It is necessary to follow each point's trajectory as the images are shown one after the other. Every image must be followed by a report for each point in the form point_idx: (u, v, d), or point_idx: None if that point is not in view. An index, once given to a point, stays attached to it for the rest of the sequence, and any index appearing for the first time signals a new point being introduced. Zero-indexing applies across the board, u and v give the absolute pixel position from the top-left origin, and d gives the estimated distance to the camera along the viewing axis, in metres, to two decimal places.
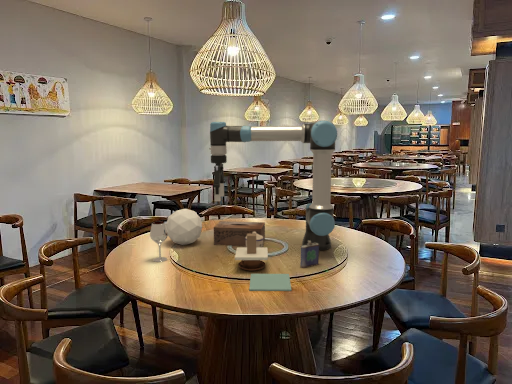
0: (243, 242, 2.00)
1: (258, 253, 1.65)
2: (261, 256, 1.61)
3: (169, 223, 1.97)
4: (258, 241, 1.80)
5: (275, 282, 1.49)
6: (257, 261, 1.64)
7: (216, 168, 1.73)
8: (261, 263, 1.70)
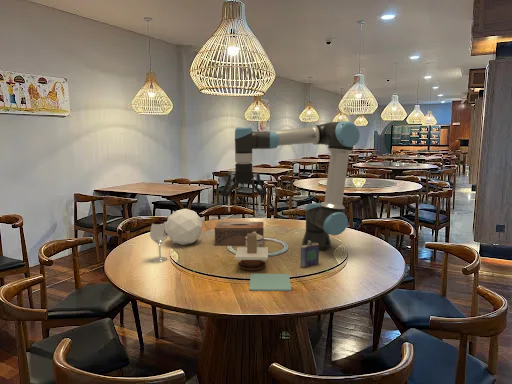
0: (245, 242, 2.00)
1: (258, 253, 1.65)
2: (261, 256, 1.61)
3: (169, 223, 1.97)
4: (258, 241, 1.80)
5: (275, 282, 1.49)
6: (257, 261, 1.64)
7: (228, 176, 1.65)
8: (261, 263, 1.71)
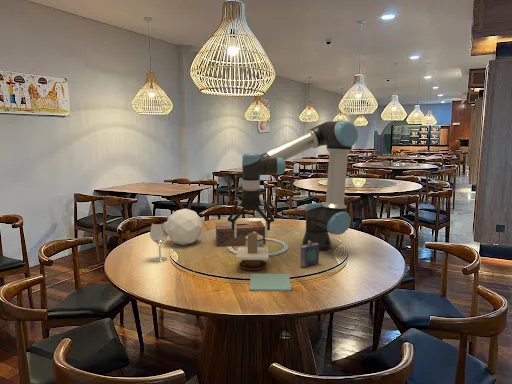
0: None
1: (259, 253, 1.65)
2: (261, 256, 1.61)
3: (169, 223, 1.97)
4: (258, 241, 1.80)
5: (275, 282, 1.49)
6: (258, 261, 1.65)
7: (235, 202, 1.63)
8: (262, 263, 1.71)
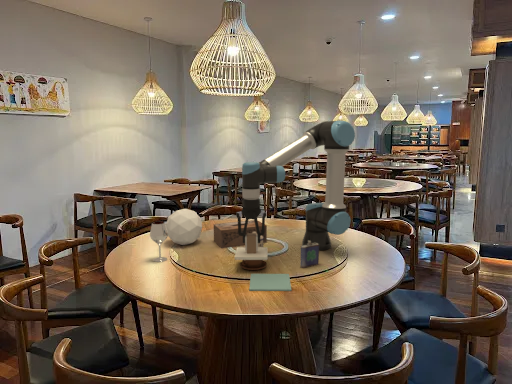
0: None
1: (258, 253, 1.65)
2: (260, 256, 1.61)
3: (169, 223, 1.97)
4: None
5: (275, 282, 1.49)
6: (258, 260, 1.65)
7: None
8: (262, 263, 1.71)
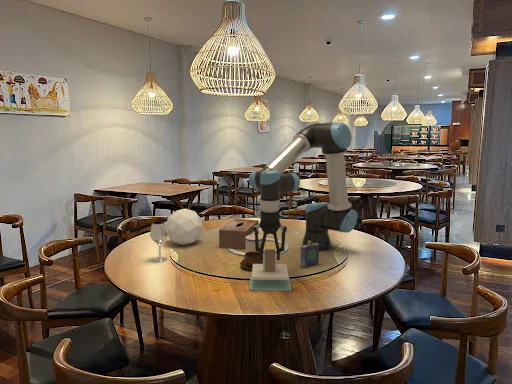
0: None
1: (277, 271, 1.48)
2: (280, 275, 1.44)
3: (169, 223, 1.97)
4: (258, 241, 1.80)
5: (275, 282, 1.49)
6: (258, 260, 1.65)
7: None
8: (262, 262, 1.71)
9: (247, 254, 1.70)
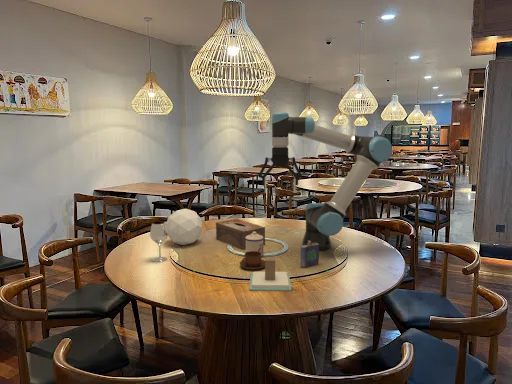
0: None
1: (277, 279, 1.49)
2: (281, 283, 1.45)
3: (169, 223, 1.97)
4: (258, 241, 1.80)
5: None
6: (258, 260, 1.66)
7: (265, 159, 1.74)
8: (262, 262, 1.72)
9: (247, 254, 1.70)
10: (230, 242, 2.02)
